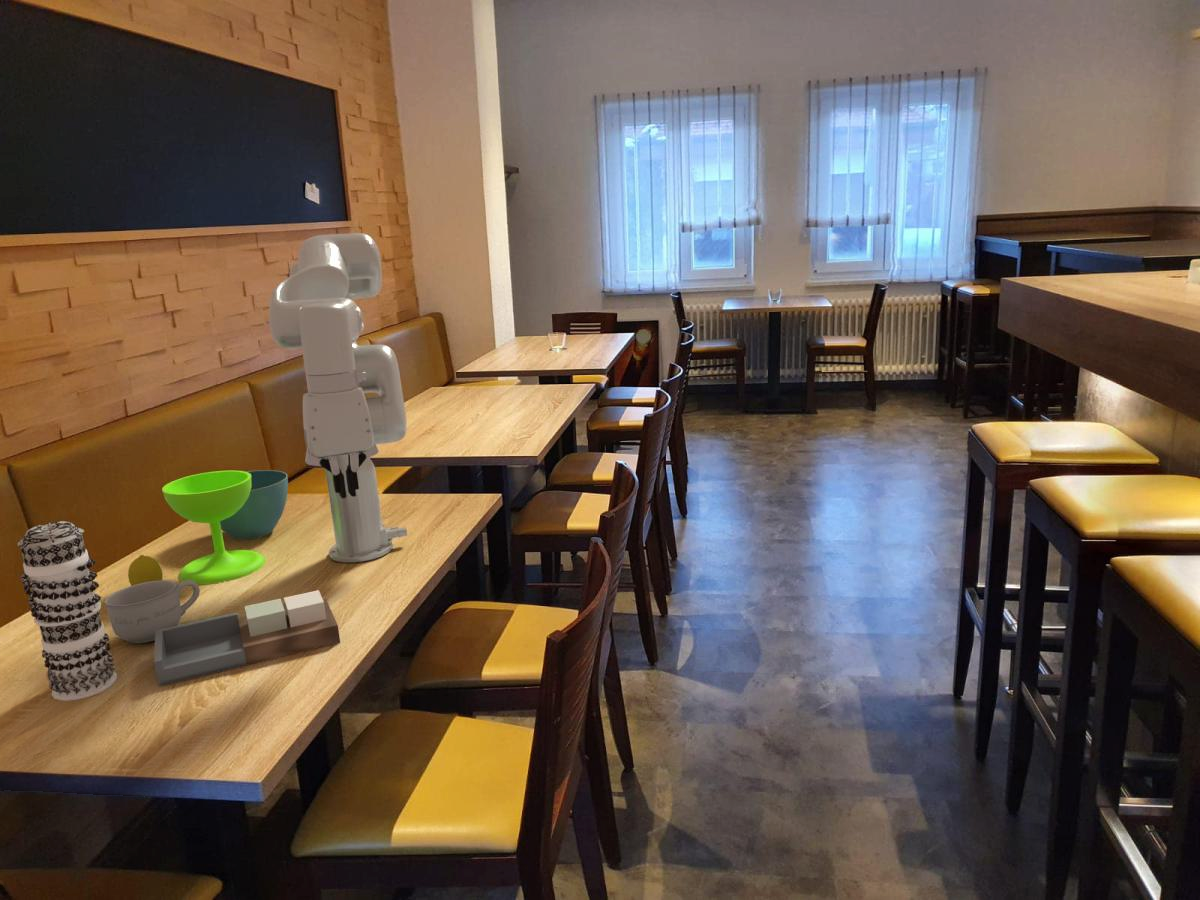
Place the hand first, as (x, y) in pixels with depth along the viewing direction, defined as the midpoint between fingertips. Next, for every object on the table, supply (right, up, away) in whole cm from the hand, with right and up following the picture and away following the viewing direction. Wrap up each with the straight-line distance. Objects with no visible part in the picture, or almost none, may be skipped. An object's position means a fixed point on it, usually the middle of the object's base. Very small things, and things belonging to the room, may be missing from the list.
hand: (347, 494), depth 138 cm
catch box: (-21, -25, -5) cm, 33 cm away
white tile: (-7, -20, +1) cm, 21 cm away
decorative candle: (-36, -28, -11) cm, 47 cm away
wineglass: (-34, -17, +33) cm, 50 cm away
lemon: (-43, -20, +21) cm, 52 cm away
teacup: (-33, -24, +5) cm, 41 cm away
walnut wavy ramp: (-10, -23, +1) cm, 25 cm away
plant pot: (-37, -12, +52) cm, 65 cm away
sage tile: (-12, -21, -1) cm, 24 cm away
